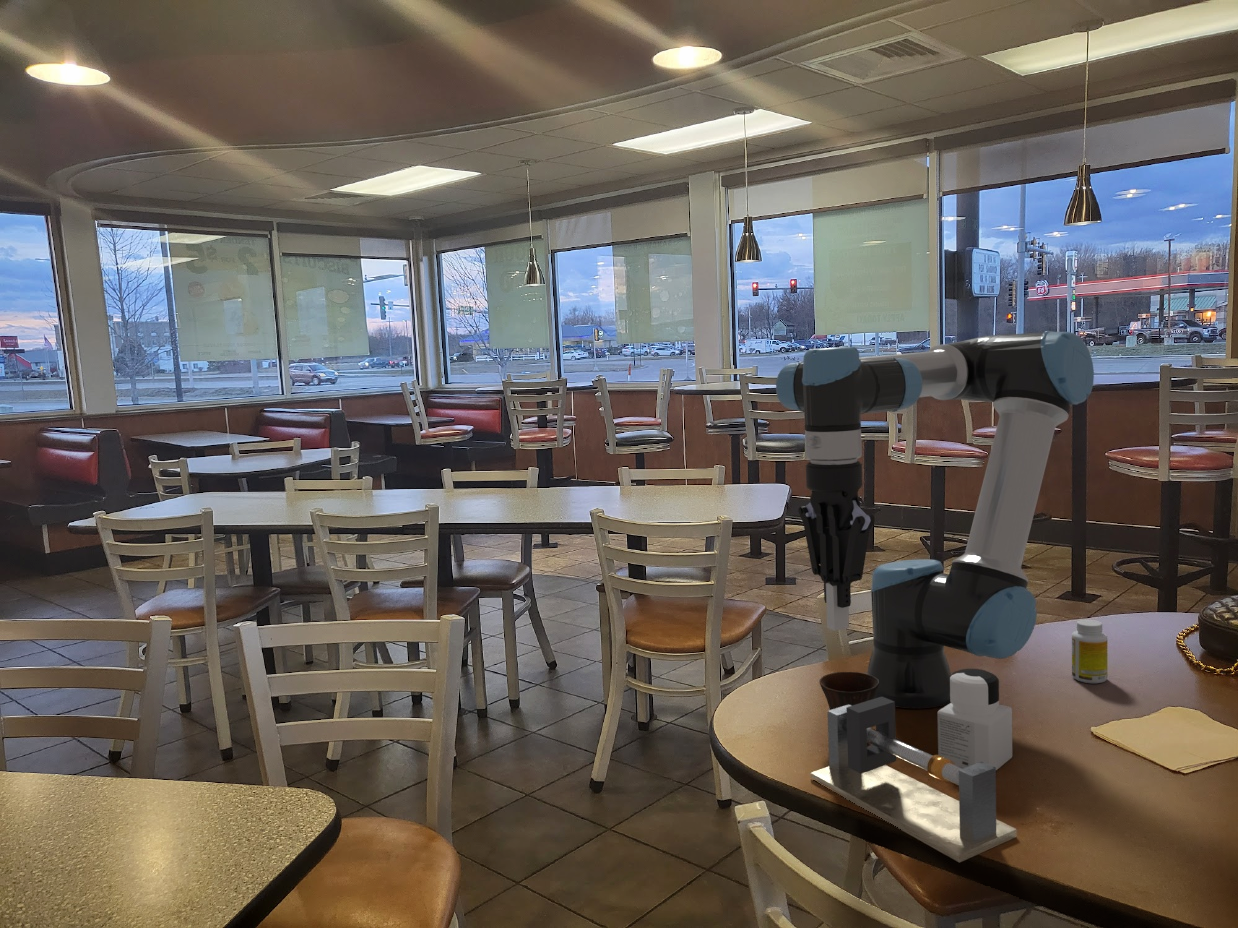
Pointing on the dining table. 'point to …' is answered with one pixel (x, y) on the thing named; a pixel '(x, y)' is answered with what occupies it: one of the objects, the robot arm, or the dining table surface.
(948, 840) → the rail
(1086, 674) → the supplement bottle
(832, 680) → the cup
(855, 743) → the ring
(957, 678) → the container
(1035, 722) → the dining table surface
